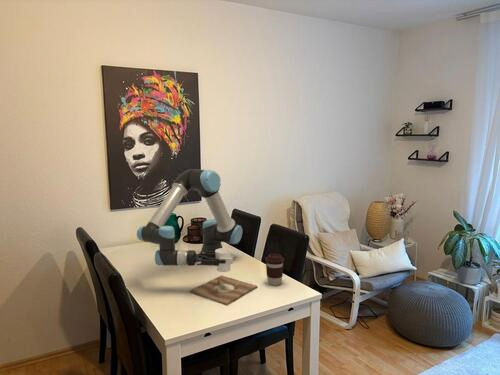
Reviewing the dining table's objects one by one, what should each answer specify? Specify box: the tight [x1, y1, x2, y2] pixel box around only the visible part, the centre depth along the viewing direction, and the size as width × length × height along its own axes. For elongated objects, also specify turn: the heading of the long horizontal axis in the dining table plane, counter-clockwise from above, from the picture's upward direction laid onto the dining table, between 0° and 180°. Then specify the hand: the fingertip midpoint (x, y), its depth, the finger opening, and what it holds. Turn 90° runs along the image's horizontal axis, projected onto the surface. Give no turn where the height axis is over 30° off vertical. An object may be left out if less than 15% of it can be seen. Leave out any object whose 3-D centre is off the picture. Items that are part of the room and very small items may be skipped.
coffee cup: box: [264, 253, 285, 287], centre depth 194 cm, size 10×10×15 cm
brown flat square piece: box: [189, 275, 258, 306], centre depth 187 cm, size 24×24×3 cm
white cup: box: [215, 247, 232, 273], centre depth 184 cm, size 8×8×10 cm
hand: (233, 258), depth 184 cm, fingers closed on white cup, 8 cm apart
